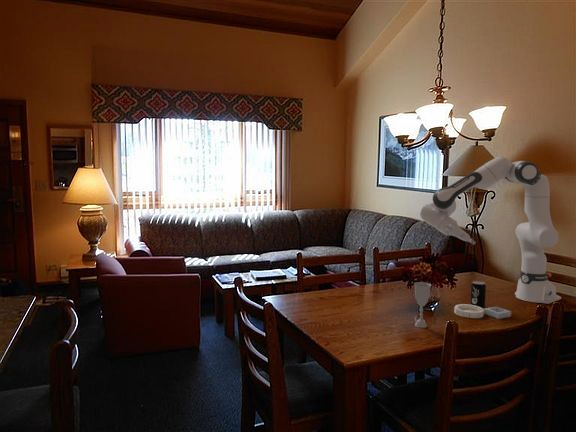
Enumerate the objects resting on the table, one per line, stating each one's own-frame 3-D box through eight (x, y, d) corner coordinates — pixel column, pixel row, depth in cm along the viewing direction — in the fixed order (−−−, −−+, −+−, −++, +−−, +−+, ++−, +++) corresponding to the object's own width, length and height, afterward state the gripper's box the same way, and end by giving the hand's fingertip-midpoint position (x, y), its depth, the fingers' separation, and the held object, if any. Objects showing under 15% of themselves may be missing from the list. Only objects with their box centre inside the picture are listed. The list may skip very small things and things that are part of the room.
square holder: (496, 311, 207) (496, 306, 207) (510, 316, 200) (511, 311, 200) (483, 313, 204) (483, 308, 204) (498, 319, 197) (498, 313, 197)
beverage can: (486, 309, 211) (487, 284, 210) (471, 308, 212) (472, 283, 211) (483, 305, 217) (484, 281, 216) (468, 304, 219) (470, 280, 217)
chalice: (408, 324, 189) (410, 283, 187) (418, 321, 194) (420, 281, 192) (423, 329, 184) (425, 287, 182) (433, 326, 188) (434, 284, 186)
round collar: (468, 307, 212) (468, 302, 212) (489, 315, 201) (490, 310, 201) (448, 311, 207) (448, 306, 207) (469, 319, 196) (469, 314, 196)
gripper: (447, 218, 214) (472, 234, 206) (456, 224, 231) (480, 239, 223) (439, 229, 215) (464, 245, 207) (449, 234, 232) (472, 249, 224)
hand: (472, 242), depth 216 cm, fingers open, 8 cm apart
